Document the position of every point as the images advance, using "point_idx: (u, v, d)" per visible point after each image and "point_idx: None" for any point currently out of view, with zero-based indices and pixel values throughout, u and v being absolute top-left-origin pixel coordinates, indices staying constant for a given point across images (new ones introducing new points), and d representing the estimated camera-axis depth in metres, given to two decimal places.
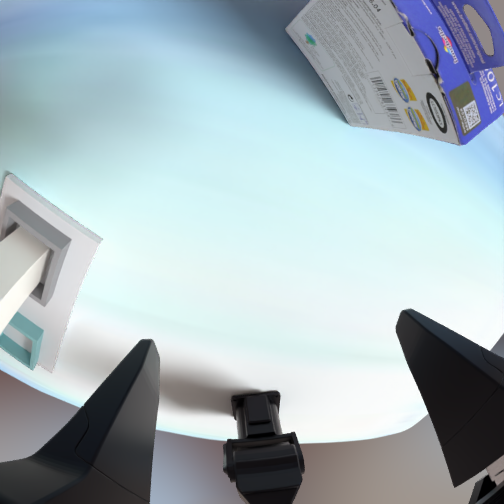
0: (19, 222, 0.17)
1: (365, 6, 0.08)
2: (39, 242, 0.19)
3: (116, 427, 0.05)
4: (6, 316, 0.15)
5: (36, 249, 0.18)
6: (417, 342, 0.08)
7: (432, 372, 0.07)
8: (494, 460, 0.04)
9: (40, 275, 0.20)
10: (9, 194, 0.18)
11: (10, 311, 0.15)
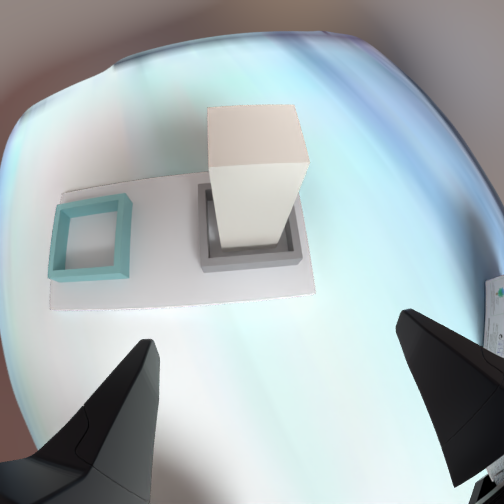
0: None
1: None
2: None
3: (116, 427, 0.05)
4: (239, 209, 0.16)
5: None
6: (417, 342, 0.08)
7: (432, 371, 0.07)
8: (494, 460, 0.04)
9: (235, 246, 0.22)
10: None
11: (239, 214, 0.16)
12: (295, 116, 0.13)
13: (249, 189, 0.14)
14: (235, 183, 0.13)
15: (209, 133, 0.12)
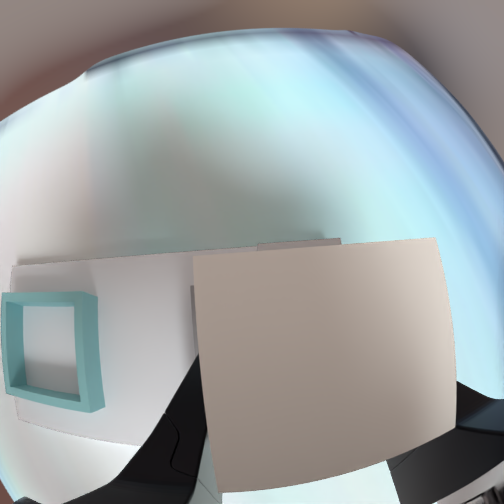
0: None
1: None
2: None
3: None
4: None
5: None
6: None
7: None
8: (442, 497, 0.03)
9: None
10: None
11: None
12: (442, 284, 0.04)
13: None
14: None
15: (207, 381, 0.04)
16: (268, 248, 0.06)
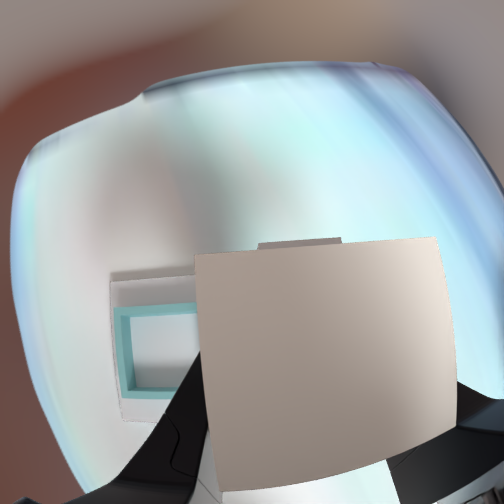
0: None
1: None
2: None
3: (208, 431, 0.05)
4: None
5: None
6: None
7: None
8: (442, 497, 0.03)
9: None
10: None
11: None
12: (442, 282, 0.04)
13: None
14: None
15: (208, 379, 0.04)
16: (269, 247, 0.06)
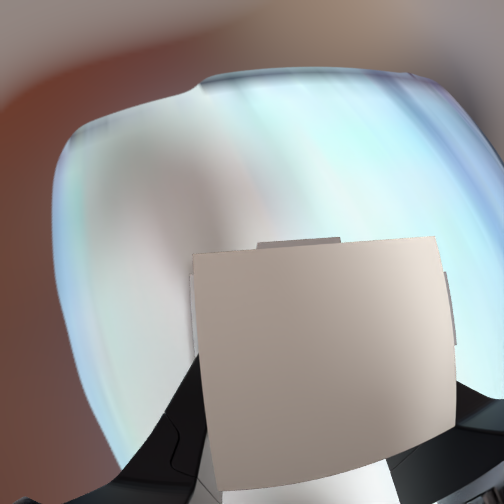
0: None
1: None
2: None
3: None
4: None
5: None
6: None
7: None
8: (442, 497, 0.03)
9: None
10: None
11: None
12: (441, 282, 0.04)
13: None
14: None
15: (207, 379, 0.04)
16: (268, 247, 0.06)
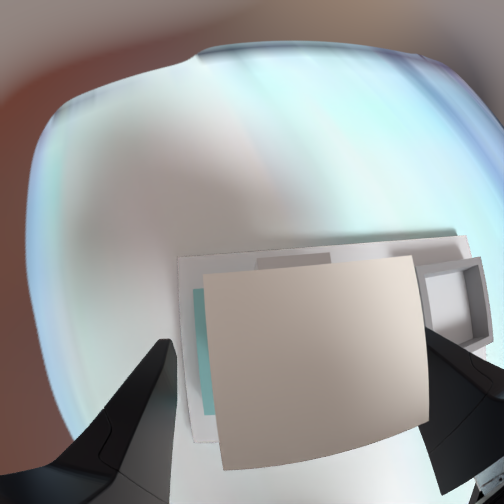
0: (483, 281, 0.16)
1: None
2: None
3: (140, 429, 0.05)
4: None
5: None
6: None
7: None
8: (481, 470, 0.04)
9: None
10: (460, 248, 0.19)
11: None
12: (415, 296, 0.05)
13: None
14: None
15: (215, 376, 0.05)
16: (266, 262, 0.07)
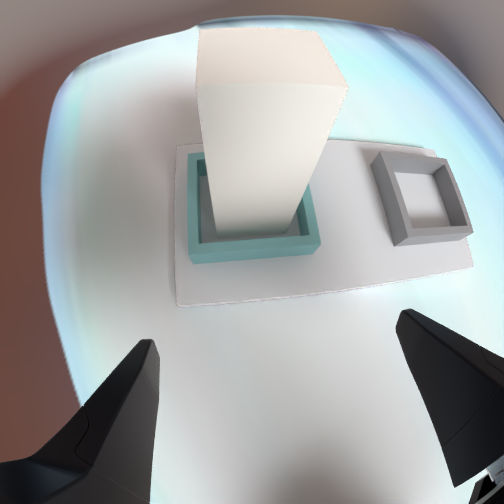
0: (451, 177, 0.19)
1: None
2: None
3: (116, 427, 0.05)
4: (241, 168, 0.11)
5: None
6: (417, 342, 0.08)
7: (432, 372, 0.07)
8: (494, 460, 0.04)
9: (235, 230, 0.17)
10: None
11: (241, 177, 0.11)
12: (319, 41, 0.08)
13: (257, 131, 0.09)
14: (237, 119, 0.08)
15: (200, 51, 0.07)
16: None
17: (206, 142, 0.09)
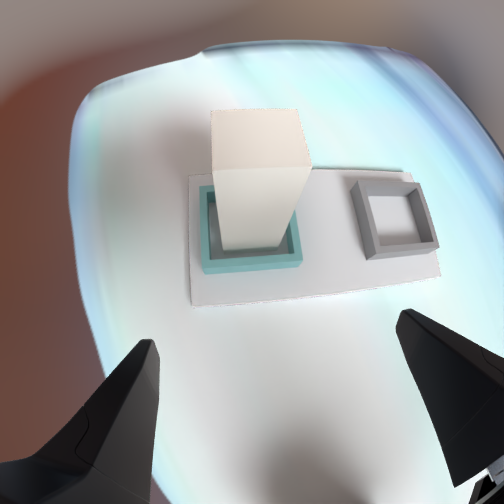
0: (422, 200, 0.24)
1: None
2: None
3: (116, 427, 0.05)
4: (242, 212, 0.16)
5: None
6: (417, 342, 0.08)
7: (432, 372, 0.07)
8: (494, 460, 0.04)
9: (237, 248, 0.22)
10: (405, 181, 0.27)
11: (241, 217, 0.16)
12: (298, 120, 0.13)
13: (252, 192, 0.14)
14: (238, 187, 0.13)
15: (213, 137, 0.12)
16: None
17: (218, 199, 0.14)
